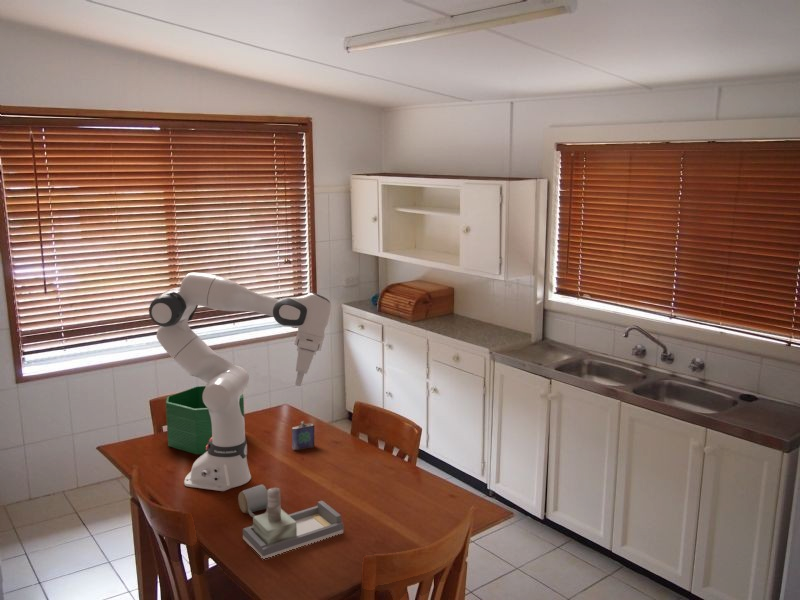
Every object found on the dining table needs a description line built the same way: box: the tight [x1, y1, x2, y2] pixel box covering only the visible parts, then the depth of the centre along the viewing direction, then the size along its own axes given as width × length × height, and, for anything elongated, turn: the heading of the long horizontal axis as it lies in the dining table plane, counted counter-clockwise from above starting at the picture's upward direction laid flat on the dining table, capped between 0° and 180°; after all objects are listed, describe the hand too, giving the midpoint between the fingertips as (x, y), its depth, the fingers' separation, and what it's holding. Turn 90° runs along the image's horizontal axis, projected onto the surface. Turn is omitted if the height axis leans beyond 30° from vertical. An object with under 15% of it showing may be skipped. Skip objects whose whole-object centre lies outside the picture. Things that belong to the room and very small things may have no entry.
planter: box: [165, 385, 245, 455], centre depth 278 cm, size 26×26×18 cm
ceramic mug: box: [237, 483, 268, 518], centre depth 221 cm, size 11×8×8 cm
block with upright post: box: [252, 487, 297, 546], centre depth 203 cm, size 9×10×15 cm
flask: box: [291, 420, 315, 451], centre depth 272 cm, size 9×3×11 cm, turn 121°
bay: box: [242, 500, 344, 560], centre depth 207 cm, size 26×14×5 cm, turn 126°
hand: (298, 383), depth 228 cm, fingers open, 8 cm apart
